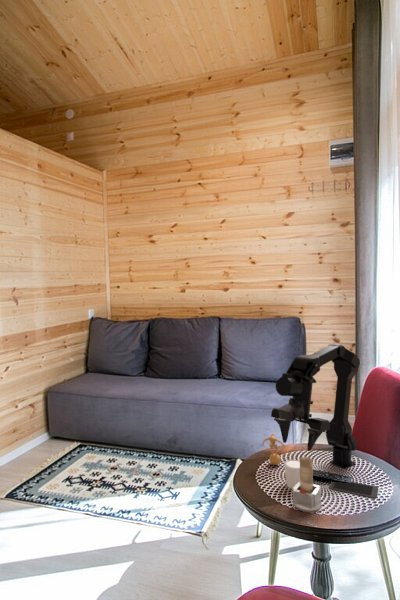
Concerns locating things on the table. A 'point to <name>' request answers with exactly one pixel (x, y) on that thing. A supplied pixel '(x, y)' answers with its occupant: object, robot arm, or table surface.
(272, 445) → the figurine
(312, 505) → the stand
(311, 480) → the post
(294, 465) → the white short cylinder
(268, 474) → the table surface
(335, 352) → the robot arm
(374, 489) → the cell phone
